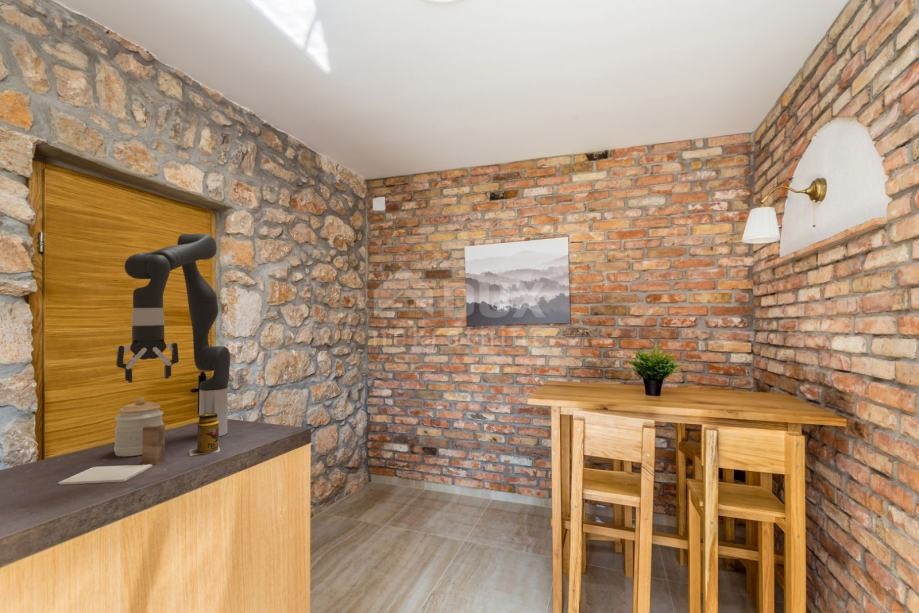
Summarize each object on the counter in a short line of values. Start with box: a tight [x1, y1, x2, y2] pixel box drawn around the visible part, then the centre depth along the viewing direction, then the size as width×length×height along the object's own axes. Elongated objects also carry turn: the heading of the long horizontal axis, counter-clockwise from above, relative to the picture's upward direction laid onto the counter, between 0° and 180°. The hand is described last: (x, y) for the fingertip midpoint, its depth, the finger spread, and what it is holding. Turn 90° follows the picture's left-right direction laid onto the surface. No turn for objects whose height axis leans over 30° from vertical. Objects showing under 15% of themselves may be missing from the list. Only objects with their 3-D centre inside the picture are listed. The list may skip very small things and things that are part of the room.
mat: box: [58, 464, 153, 485], centre depth 117 cm, size 12×16×1 cm
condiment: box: [189, 413, 221, 457], centre depth 139 cm, size 7×8×12 cm
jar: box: [113, 396, 165, 457], centre depth 140 cm, size 13×13×18 cm
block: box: [141, 423, 166, 465], centre depth 128 cm, size 4×4×11 cm
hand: (148, 380), depth 121 cm, fingers open, 8 cm apart
